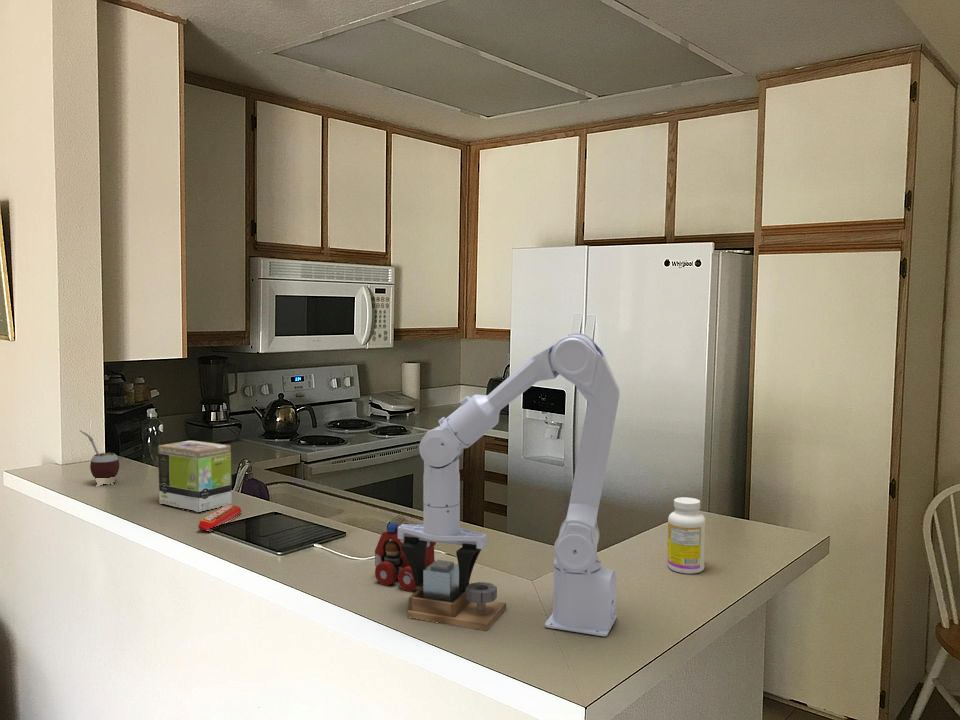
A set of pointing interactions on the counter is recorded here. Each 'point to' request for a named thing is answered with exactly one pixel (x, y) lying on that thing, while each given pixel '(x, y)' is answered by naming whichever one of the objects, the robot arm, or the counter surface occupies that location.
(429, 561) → the toy fire truck
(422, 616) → the board
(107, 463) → the mate gourd
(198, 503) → the tea box
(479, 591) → the wheel
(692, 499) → the supplement bottle
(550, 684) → the counter surface
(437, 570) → the grey block
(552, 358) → the robot arm
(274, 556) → the counter surface
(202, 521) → the candy bar
